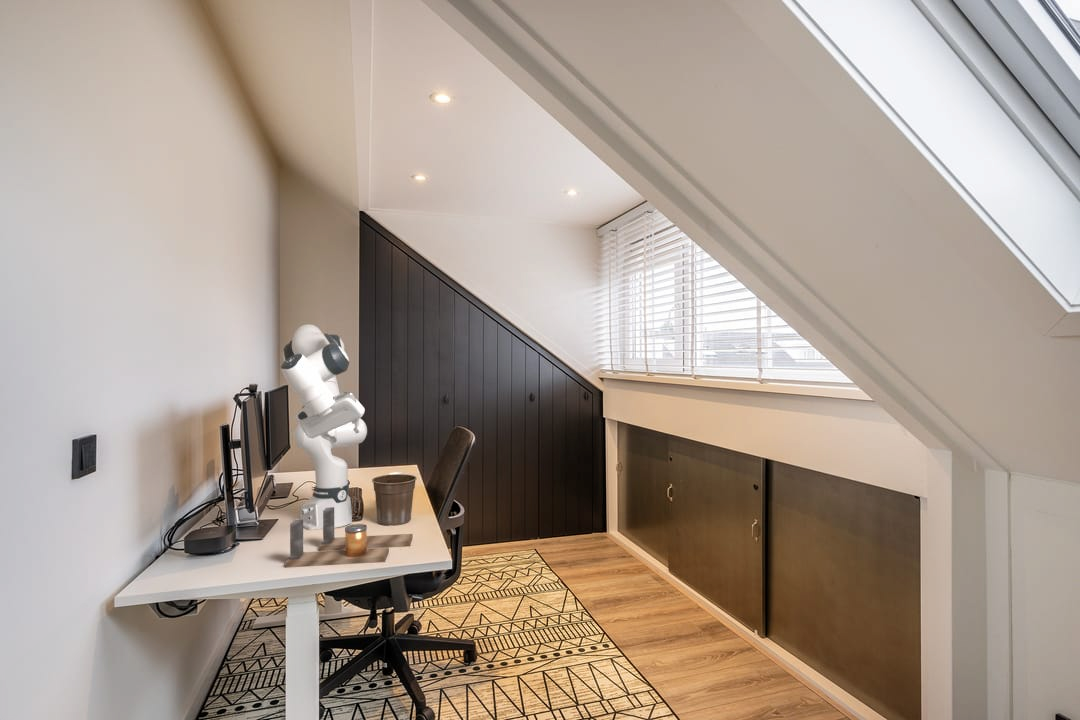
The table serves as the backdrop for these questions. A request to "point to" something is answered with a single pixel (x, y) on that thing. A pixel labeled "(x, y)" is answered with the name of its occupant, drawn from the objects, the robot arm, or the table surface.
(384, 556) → the pull strip
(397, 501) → the plant pot
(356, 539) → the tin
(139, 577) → the table surface
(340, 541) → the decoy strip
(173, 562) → the table surface
